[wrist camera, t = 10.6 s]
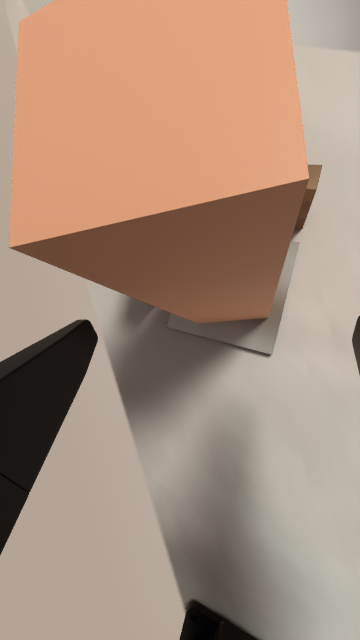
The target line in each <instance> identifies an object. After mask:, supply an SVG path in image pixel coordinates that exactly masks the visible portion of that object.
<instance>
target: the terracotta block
mask: <svg viewBox="0 0 360 640" xmlns="http://www.w3.org/2000/svg"><path fill="white" fill-rule="evenodd" d="M14 124H15V125H14V146H13V168H12V169H13V170H12V191H11V213H10V235H9V248H11V249H14V250H16V251H19V252H21V253H24V254H26V255H29V256H31V257H34V258H36V259H38V260H41V261H44V262H46V263H48V264H51V265H53V266H56V267H58V268H61V269H63V270H66V271H68V272H71V273H73V274H76V275H78V276H81V277H83V278H86V279H88V280H91V281H93V282H95V283H98V284H100V285H103V286H105V287H108V288H110V289H113V290H115V291H118V292H120V293H123V294H125V295H128V296H130V297H133V298H135V299H138V300H140V301H143V302H145V303H148V304H150V305H152V306H155V307H157V308H160V309H162V310H165V311H167V312H170V313H172V314H175V315H177V316H180V317H182V318H185V319H187V320H190V321H192V322H195V323H197V324H201V323H214V322H226V321H238V320H250V319H262V318H268V317H269V313H270V310H271V306H272V303H273V300H274V296H275V293H276V289H277V286H278V283H279V279H280V276H281V272H282V269H283V266H284V262H285V259H286V255H287V252H288V249H289V245H290V242H291V239H292V235H293V232H294V228H295V225H296V222H297V218H298V215H299V211H300V208H301V205H302V201H303V198H304V194H305V191H306V188H307V184H308V181H309V173H308V165H307V157H306V149H305V141H304V133H303V125H302V117H301V110H300V102H299V94H298V86H297V78H296V70H295V62H294V54H293V46H292V39H291V31H290V23H289V15H288V7H287V0H55V1H54V2H52V3H50V4H48V5H47V6H45V7H43V8H42V9H40V10H38V11H37V12H35V13H33V14H31V15H30V16H28V17H26V18H25V19H23V20H21V21H19V34H18V57H17V80H16V101H15V123H14Z"/></svg>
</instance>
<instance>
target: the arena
mask: <svg viewBox="0 0 360 640" xmlns="http://www.w3.org/2000/svg"><path fill="white" fill-rule="evenodd" d="M321 169H322V165H308V173H309V181H308V184H307V188H306V191H305V194H304V198H303V201H302V205H301V208H300V211H299V215H298V218H297V222H296V225H295V228H298V229H302V228H303V225H304V223H305V220H306V217H307V214H308V212H309V209H310V206H311V203H312V201H313V198H314V195H315V192H316V189H317V185H318V181H319V177H320V173H321ZM298 246H299V242H290V245H289V249H288V252H287V255H286V259H285V262H284V266H283V269H282V272H281V276H280V279H279V283H278V286H277V289H276V293H275V296H274V300H273V303H272V306H271V310H270V313H269V317H268V318H262V319H250V320H238V321H226V322H214V323H201V324H197V323H195V322H192V321H190V320H187V319H185V318H182V317H180V316H177V315H175V314H172V313H170V315H169V319H168V323H167V328H171V329H175V330H179V331H183V332H186V333H190V334H194V335H198V336H202V337H206V338H210V339H213V340H217V341H221V342H225V343H229V344H233V345H237V346H240V347H244V348H248V349H252V350H256V351H260V352H264V353H267V354H271V355H272V353H273V349H274V345H275V341H276V336H277V332H278V328H279V324H280V320H281V316H282V312H283V308H284V303H285V299H286V295H287V291H288V287H289V283H290V279H291V274H292V270H293V266H294V262H295V258H296V254H297V250H298Z"/></svg>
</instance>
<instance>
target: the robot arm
mask: <svg viewBox="0 0 360 640" xmlns="http://www.w3.org/2000/svg"><path fill="white" fill-rule="evenodd" d="M97 341H98V336H97V334H96V332H95V330H94V328H93V326H92V324H91V322H90V321H89V320H77V321H75V322H73V323H71V324H69V325H67V326H66V327H64V328H62V329H60V330H58V331H57V332H55V333H53V334H51V335H49V336H47V337H46V338H44V339H42V340H40V341H38V342H36V343H34V344H32V345H31V346H29V347H27V348H25V349H23V350H22V351H20V352H18V353H16V354H14V355H13V356H11V357H9V358H7V359H5V360H3V361H1V362H0V555H1V552H2V550H3V548H4V546H5V544H6V542H7V539H8V538H9V536H10V533H11V531H12V529H13V527H14V525H15V523H16V520H17V519H18V517H19V514H20V512H21V510H22V508H23V506H24V504H25V502H26V500H27V497H28V495H29V492H30V491H31V489H32V486H33V484H34V482H35V480H36V478H37V476H38V474H39V472H40V470H41V467H42V465H43V463H44V461H45V459H46V457H47V455H48V453H49V451H50V448H51V446H52V444H53V442H54V440H55V438H56V435H57V434H58V432H59V429H60V427H61V425H62V423H63V421H64V419H65V417H66V415H67V413H68V410H69V408H70V406H71V404H72V402H73V400H74V398H75V396H76V394H77V391H78V389H79V387H80V385H81V383H82V381H83V379H84V376H85V374H86V372H87V369H88V366H89V363H90V361H91V358H92V355H93V352H94V349H95V347H96V344H97ZM352 344H353V348H354V353H355V357H356V361H357V365H358V370H359V374H360V316H359V317H358V319H357V322H356V326H355V329H354V333H353V337H352ZM193 613H195V614H196V615H197V616H195V615H194V614H193ZM180 640H257V639H255V638H254V637H252V636H250V635H249V634H247V633H246V632H244V631H243V630H241V629H239V628H238V627H236V626H235V625H233V624H231V623H230V622H228V621H227V620H225V619H223V618H222V617H220V616H219V615H217V614H216V613H214V612H212V611H211V610H209V609H208V608H206V607H204V606H203V605H201V604H200V603H198V602H196V601H192V602H190V603H189V605H188V608H187V612H186V616H185V620H184V624H183V628H182V632H181V636H180Z"/></svg>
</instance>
